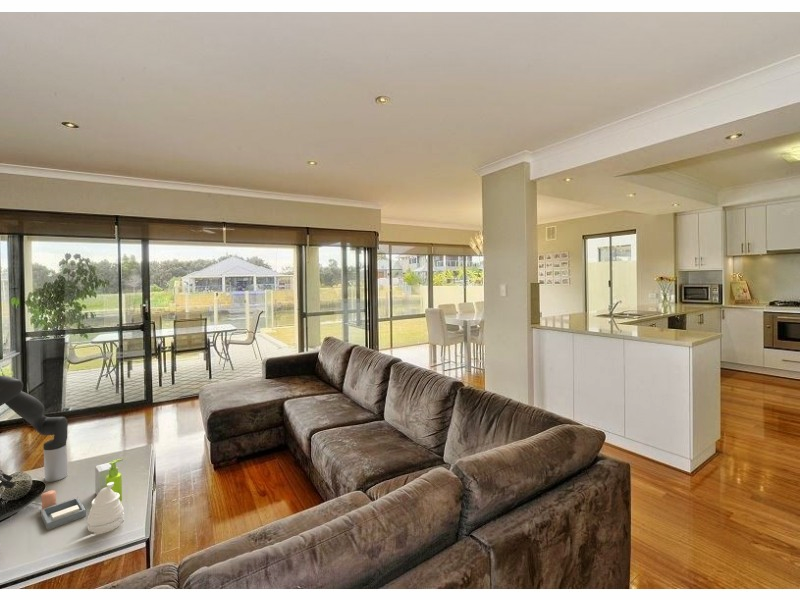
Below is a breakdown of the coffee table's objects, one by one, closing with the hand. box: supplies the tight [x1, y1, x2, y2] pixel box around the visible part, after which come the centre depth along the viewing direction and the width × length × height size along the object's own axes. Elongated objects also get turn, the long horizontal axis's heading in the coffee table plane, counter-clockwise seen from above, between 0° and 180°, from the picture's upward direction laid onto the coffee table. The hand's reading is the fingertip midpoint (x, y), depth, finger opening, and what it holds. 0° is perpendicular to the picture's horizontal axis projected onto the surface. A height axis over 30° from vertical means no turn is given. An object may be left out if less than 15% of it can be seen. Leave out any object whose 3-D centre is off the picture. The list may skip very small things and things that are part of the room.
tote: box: [40, 496, 87, 531], centre depth 174 cm, size 15×13×4 cm
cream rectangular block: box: [51, 505, 79, 521], centre depth 171 cm, size 4×9×4 cm, turn 141°
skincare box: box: [94, 462, 111, 496], centre depth 192 cm, size 8×6×15 cm
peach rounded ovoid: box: [40, 489, 57, 509], centre depth 180 cm, size 5×5×8 cm
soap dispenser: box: [106, 458, 124, 502], centre depth 187 cm, size 6×7×20 cm
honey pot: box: [86, 482, 125, 535], centre depth 169 cm, size 13×13×18 cm
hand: (12, 482), depth 170 cm, fingers open, 8 cm apart
